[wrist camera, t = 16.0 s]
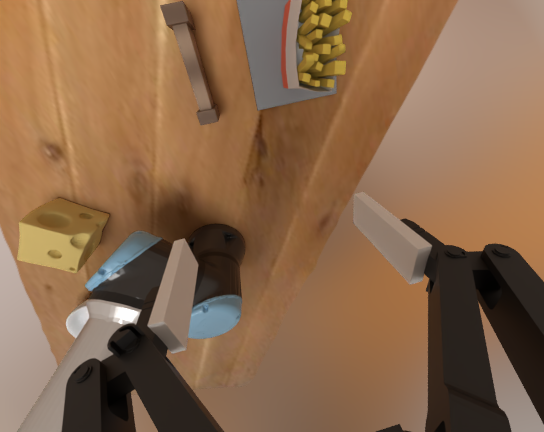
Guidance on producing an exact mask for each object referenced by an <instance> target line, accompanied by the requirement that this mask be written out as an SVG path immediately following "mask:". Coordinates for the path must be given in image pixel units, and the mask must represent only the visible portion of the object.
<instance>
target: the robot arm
mask: <svg viewBox="0 0 544 432" xmlns="http://www.w3.org/2000/svg"><path fill="white" fill-rule="evenodd" d="M353 213H354V214H353V223H354V224H355V225H356V226H357V228H358V229H359V230H360V231H361V232H362V233H363V234H364V235H365V236H366V237H367V238H368V239H369V241H370V242H371V243H372V244H373V245H374V246H375V247H376V248H377V249H378V250H379V251H380V253H381V254H382V255H383V256H384V257H385V258H386V259H387V260H388V261H389V262H390V263H391V264H392V265H393V267H394V268H395V269H396V270H397V271H398V272H399V273H400V274H401V275H402V277H403V278H404V279H405V280H406V281H407V282H408V283H409V284H414V283H417V282H420V281H422V280H423V276H424V274H425V275H426V276H427V277H428V278H429V282H428V285H427V288H426V291H427V292H428V413H427V419H426V427H425V432H511V428H510V424H509V420H508V418H507V416H506V414H505V412H504V411H503V410H501V409H500V408H499V406H498V404H497V400H496V395H495V389H494V384H493V379H492V373H491V368H490V363H489V358H488V352H487V347H486V342H485V336H484V330H483V325H482V320H481V315H480V309H479V304H478V301H479V303H480V305H481V307H482V309H483V311H484V313H485V315H486V317H487V318H488V320H489V322H490V324H491V326H492V328H493V329H494V332H495V333H496V335H497V337H498V339H499V341H500V343H501V344H502V347H503V348H504V350H505V352H506V354H507V356H508V358H509V360H510V362H511V363H512V365H513V367H514V369H515V371H516V373H517V375H518V377H519V379H520V380H521V382H522V384H523V386H524V388H525V390H526V392H527V394H528V395H529V397H530V399H531V401H532V403H533V405H534V407H535V409H536V411H537V412H538V414H539V416H540V418H541V420H542V422H543V424H544V282H543V281H542V279H541V278H540V277H539V276H538V275H537V274H536V272H535V271H534V270H533V269H532V268H531V267H530V266H529V265H528V263H527V262H526V261H525V260H524V259H523V257H522V256H521V255H520V254H519V253H518V252H517V251H516V250H514V249H512V248H510V247H508V246H505V245H501V244H488V245H486V246H485V248H484V250H483V251H479V252H466V251H465V250H464V249H462V248H459V247H456V246H452V245H444V244H443V243H442V242H440V241H439V240H438V239H436V238H435V237H433V236H432V235H431V234H429V233H428V232H426V231H425V230H424V229H423V228H420V227H419V225H417V224H416V223H414V222H412V221H410V220H407V219H402V220H399V219H398V218H396V217H395V216H394V215H393V214H391V213H390V212H389V211H388V210H386V209H385V208H383V207H382V206H381V205H380V204H379V203H377V202H376V201H375V200H373V199H372V198H371V197H370V196H368V195H367V194H366V193H365V192H360V193H356V194H354V212H353ZM244 255H245V242H244V239H243V237H242V235H241V234H240V233H239V232H238V231H237V230H235V229H234V228H232V227H230V226H227V225H222V224H211V225H206V226H203V227H201V228H199V229H197V230H196V231H195V232H194V233H193V234H192V235H191V236H190V238H189V241H188V244H187V242H186V240H185V238H184V239H180V240H176V241H174V244H171V243H169V242H168V241H166V240H164V239H163V238H162V237H157V236H154V235H152V234H150V233H148V232H145V231H135V232H133V233H132V234H130V235H129V237H128V238H127V239H126V240H125V241H124V242H123V243H122V244H121V245H120V246H119V248H118V249H117V250H116V251H115V252H114V253H113V254H112V255H111V256H110V258H109V259H108V260H107V261H106V262H105V263H104V264H103V265H102V266H101V268H100V269H99V270H98V271H97V272H96V273H95V274H94V275H93V276H92V277H91V278H90V280H89V281H88V282H87V283H86V284H85V287H86V288H87V289H88V290H89V291H92V290H93V292H92V294H91V295H90V297H89V298H88V300H87V301H86V306H87V310H88V313H89V319H88V320H87V322H86V324H85V325H84V327H83V328H82V330H81V331H80V333H79V335H78V336H77V338H76V339H75V341H74V342H73V344H72V346H71V347H70V349H69V350H68V352H67V354H66V355H65V357H64V358H63V360H62V361H61V363H60V365H59V366H58V368H57V369H56V371H55V373H54V374H53V376H52V377H51V379H50V380H49V382H48V384H47V385H46V387H45V388H44V390H43V391H42V393H41V395H40V396H39V398H38V399H37V401H36V402H35V404H34V406H33V407H32V409H31V411H30V412H29V413H28V415H27V417H26V418H25V420H24V422H23V423H22V424H21V426H20V428H19V429H18V431H17V432H136V429H135V422H134V414H133V406H132V399H131V391H133V390H134V389H135V390H136V391H137V393H138V395H139V397H140V399H141V400H142V402H143V404H144V406H145V408H146V410H147V411H148V413H149V415H150V417H151V419H152V421H153V423H154V424H155V426H156V428H157V430H158V432H224V431H223V430H222V428H221V427H220V426H219V424H218V423H217V422H216V420H215V419H214V418H213V417H212V415H211V414H210V413H209V411H208V410H207V409H206V407H205V406H204V405H203V404H202V402H201V401H200V400H199V398H198V397H197V396H196V394H195V393H194V392H193V390H192V389H191V388H190V386H189V385H188V384H187V383H186V381H185V380H184V379H183V377H182V376H181V375H180V373H179V372H178V371H177V370H176V368H175V367H174V366H173V364H172V363H171V362H170V360H169V359H168V358H167V357H166V354H167V349H169V350H170V352H171V353H172V354H173V353H176V352H180V351H183V350H186V348H187V341H188V337H189V338H194V339H205V338H211V337H215V336H219V335H221V334H224V333H226V332H228V331H229V330H231V329H232V328H233V327H234V326H235V325H236V324H237V323H238V321H239V319H240V317H241V304H242V296H241V282H240V265H241V263H242V260H243V258H244ZM376 432H410V431H403V430H402V428H401V426H400V424H398V425H395V426H392V427H389V428H386V429H383V430H380V431H376Z"/></svg>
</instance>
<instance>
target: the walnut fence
mask: <svg viewBox="0 0 544 432" xmlns="http://www.w3.org/2000/svg"><path fill="white" fill-rule="evenodd" d="M160 7H161V10H162V12H163V15H164V18H165V21H166V24H167V26H168V27H170V28H171V29H172V30H173V31H174V33H175V36H176V39H177V42H178V45H179V48H180V52H181V55H182V58H183V61H184V64H185V67H186V70H187V73H188V76H189V79H190V82H191V85H192V88H193V91H194V94H195V97H196V100H197V103H198V106H199V110H198V111H197V116H198V119H199V122H200V125H205V124H210V123H214V122H218V120H219V116H220V114H219V111H218V107H217V104H215V105H214V103H213V100H212V96H211V93H210V89H209V86H208V82H207V79H206V75H205V72H204V69H203V65H202V62H201V58H200V55H199V51H198V48H197V44H196V41H195V38H194V34H193V31H192V30H195V26H194V23H193V19H192V16H191V13H190V11H189V10H188V8H187V7H186V5H185V4H184V2H183V1H180V2H175V3H170V4H165V5H160Z"/></svg>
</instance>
